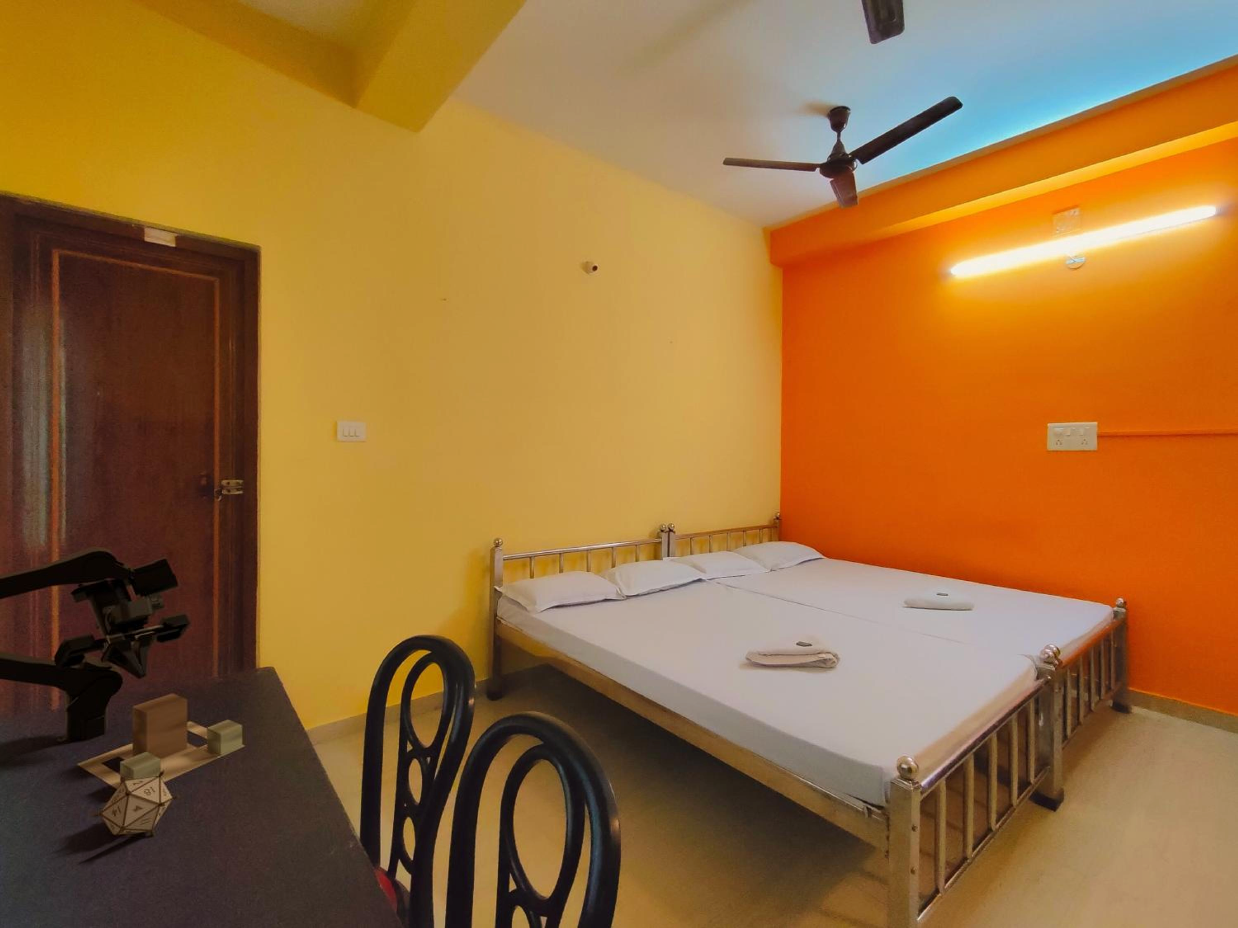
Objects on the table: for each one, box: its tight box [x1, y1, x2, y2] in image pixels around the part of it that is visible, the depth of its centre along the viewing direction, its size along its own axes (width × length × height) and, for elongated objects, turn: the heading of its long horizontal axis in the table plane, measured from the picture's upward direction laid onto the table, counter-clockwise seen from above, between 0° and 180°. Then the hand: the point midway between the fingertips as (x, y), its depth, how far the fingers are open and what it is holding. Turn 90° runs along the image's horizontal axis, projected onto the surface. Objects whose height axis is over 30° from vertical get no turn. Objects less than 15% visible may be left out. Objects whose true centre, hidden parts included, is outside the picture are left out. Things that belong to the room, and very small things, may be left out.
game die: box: [91, 770, 181, 844], centre depth 80 cm, size 9×8×10 cm
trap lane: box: [76, 719, 246, 790], centre depth 98 cm, size 18×17×5 cm
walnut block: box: [131, 693, 188, 759], centre depth 99 cm, size 5×6×9 cm
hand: (143, 676), depth 101 cm, fingers closed
